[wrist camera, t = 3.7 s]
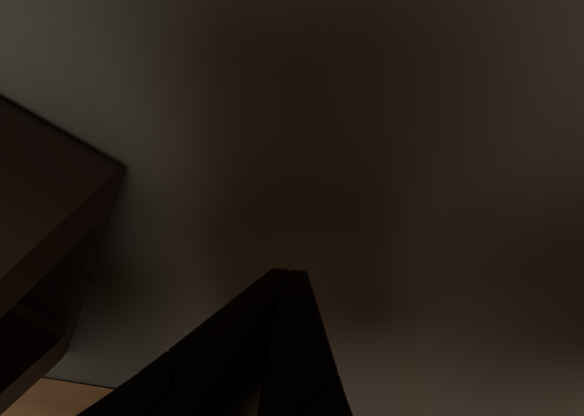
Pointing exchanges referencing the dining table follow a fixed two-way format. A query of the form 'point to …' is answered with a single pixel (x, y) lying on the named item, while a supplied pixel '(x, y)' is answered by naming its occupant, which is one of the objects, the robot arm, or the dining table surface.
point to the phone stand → (45, 243)
